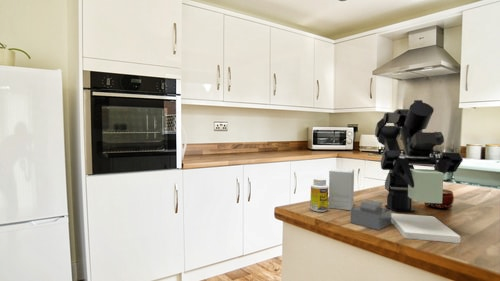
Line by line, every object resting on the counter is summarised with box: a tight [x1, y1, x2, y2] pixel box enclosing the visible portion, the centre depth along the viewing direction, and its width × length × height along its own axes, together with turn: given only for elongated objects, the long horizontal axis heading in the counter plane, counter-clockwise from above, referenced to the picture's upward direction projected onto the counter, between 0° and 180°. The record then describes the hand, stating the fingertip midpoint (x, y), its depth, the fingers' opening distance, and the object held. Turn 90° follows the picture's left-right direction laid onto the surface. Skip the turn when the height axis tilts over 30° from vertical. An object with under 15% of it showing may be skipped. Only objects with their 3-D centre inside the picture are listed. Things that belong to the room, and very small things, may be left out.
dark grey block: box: [350, 199, 393, 231], centre depth 81 cm, size 8×8×6 cm
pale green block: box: [408, 168, 445, 204], centre depth 75 cm, size 6×6×8 cm
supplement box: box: [328, 167, 355, 211], centre depth 98 cm, size 7×7×13 cm
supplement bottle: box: [310, 177, 329, 213], centre depth 94 cm, size 6×6×10 cm
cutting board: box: [391, 212, 461, 244], centre depth 77 cm, size 16×12×2 cm
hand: (426, 187), depth 73 cm, fingers closed on pale green block, 6 cm apart
